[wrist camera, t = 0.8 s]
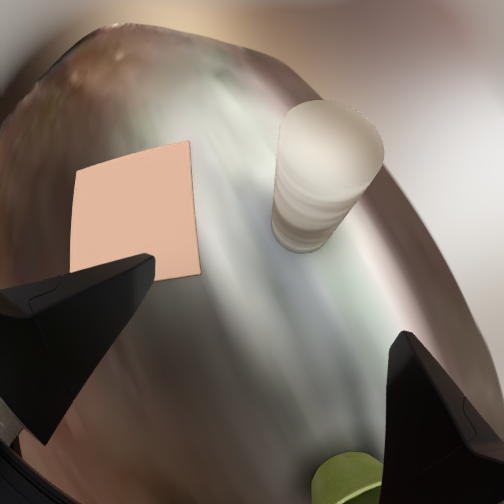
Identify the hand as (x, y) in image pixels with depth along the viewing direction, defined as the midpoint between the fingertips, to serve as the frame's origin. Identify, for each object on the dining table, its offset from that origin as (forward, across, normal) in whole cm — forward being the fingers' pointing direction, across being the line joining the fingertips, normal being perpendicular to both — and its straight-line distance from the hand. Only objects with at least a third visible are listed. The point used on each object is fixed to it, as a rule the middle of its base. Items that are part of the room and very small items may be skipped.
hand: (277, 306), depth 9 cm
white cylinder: (+15, 0, +3) cm, 15 cm away
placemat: (+13, +15, +5) cm, 20 cm away
